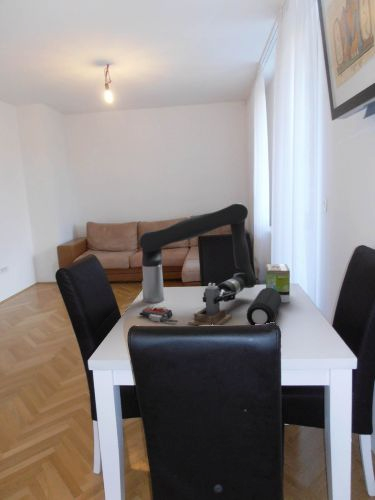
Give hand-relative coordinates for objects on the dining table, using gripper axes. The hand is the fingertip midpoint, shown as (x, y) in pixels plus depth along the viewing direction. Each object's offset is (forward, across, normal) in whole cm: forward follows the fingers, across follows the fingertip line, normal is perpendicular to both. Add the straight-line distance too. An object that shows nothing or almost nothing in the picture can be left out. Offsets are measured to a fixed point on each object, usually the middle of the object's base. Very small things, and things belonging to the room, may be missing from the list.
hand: (209, 300), depth 137 cm
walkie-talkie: (+5, -20, +9) cm, 22 cm away
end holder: (0, 0, +8) cm, 8 cm away
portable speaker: (-11, +18, +9) cm, 23 cm away
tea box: (-40, +14, +9) cm, 43 cm away
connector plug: (-3, 0, +7) cm, 7 cm away
